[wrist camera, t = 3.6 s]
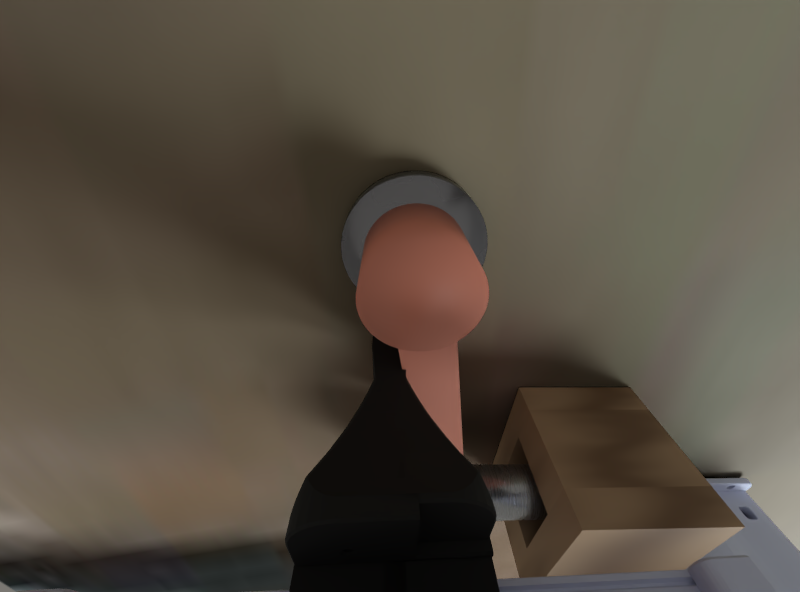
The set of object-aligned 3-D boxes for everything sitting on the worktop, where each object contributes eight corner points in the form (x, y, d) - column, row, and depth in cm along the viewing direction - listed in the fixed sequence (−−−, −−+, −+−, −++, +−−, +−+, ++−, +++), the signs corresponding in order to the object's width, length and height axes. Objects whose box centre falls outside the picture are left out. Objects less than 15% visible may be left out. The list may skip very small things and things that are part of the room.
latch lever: (464, 195, 10) (490, 229, 7) (470, 405, 16) (485, 465, 13) (353, 212, 10) (341, 250, 8) (398, 413, 16) (400, 474, 13)
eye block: (629, 387, 17) (745, 527, 11) (578, 469, 21) (644, 598, 16) (518, 387, 16) (582, 530, 11) (490, 470, 21) (526, 601, 15)
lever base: (493, 172, 11) (501, 177, 10) (470, 301, 13) (474, 312, 13) (338, 168, 10) (335, 173, 10) (348, 299, 13) (345, 311, 12)
